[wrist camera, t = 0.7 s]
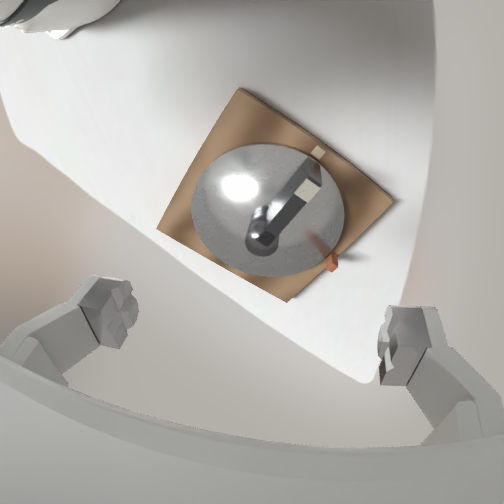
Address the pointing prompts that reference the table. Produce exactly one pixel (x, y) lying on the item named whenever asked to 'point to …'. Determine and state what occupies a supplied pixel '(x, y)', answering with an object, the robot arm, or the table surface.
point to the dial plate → (290, 134)
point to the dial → (268, 209)
